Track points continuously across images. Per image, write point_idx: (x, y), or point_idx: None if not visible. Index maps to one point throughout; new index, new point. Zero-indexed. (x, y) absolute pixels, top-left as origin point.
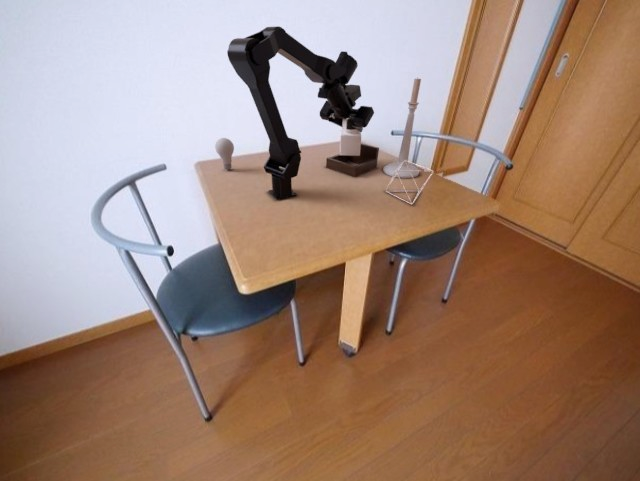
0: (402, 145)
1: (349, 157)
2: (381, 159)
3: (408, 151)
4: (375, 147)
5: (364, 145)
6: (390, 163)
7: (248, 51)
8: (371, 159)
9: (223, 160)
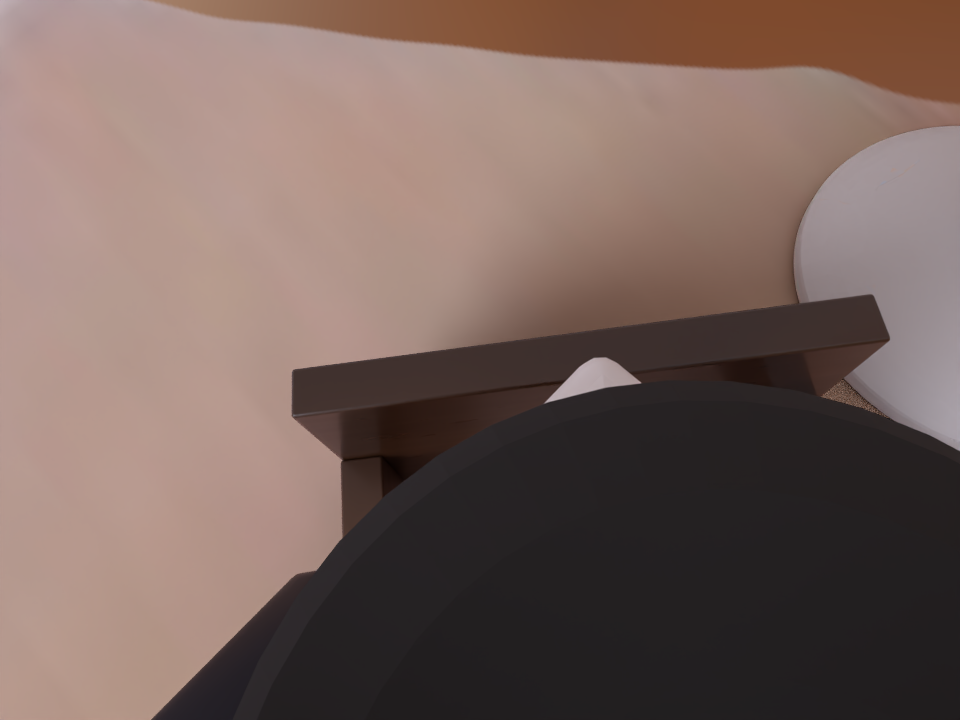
0: None
1: (401, 470)
2: (584, 173)
3: None
4: (840, 332)
5: (636, 376)
6: (852, 261)
7: None
8: None
9: None
